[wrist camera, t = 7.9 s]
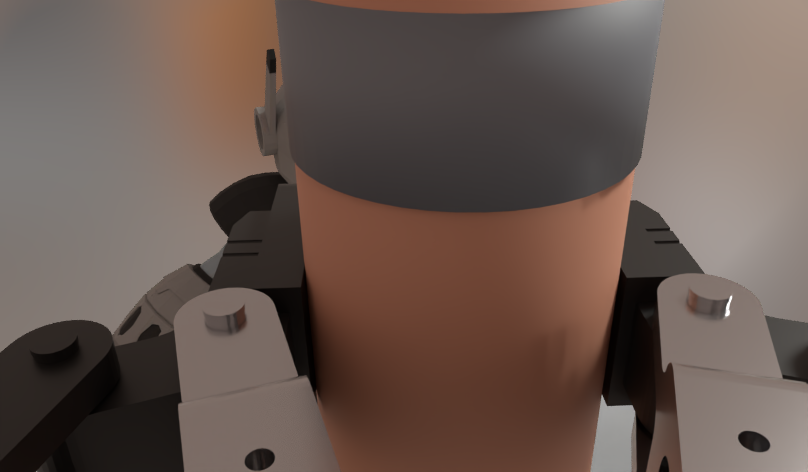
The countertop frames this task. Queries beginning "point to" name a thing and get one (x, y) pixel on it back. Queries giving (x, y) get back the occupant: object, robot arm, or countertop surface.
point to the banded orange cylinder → (464, 219)
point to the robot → (219, 222)
